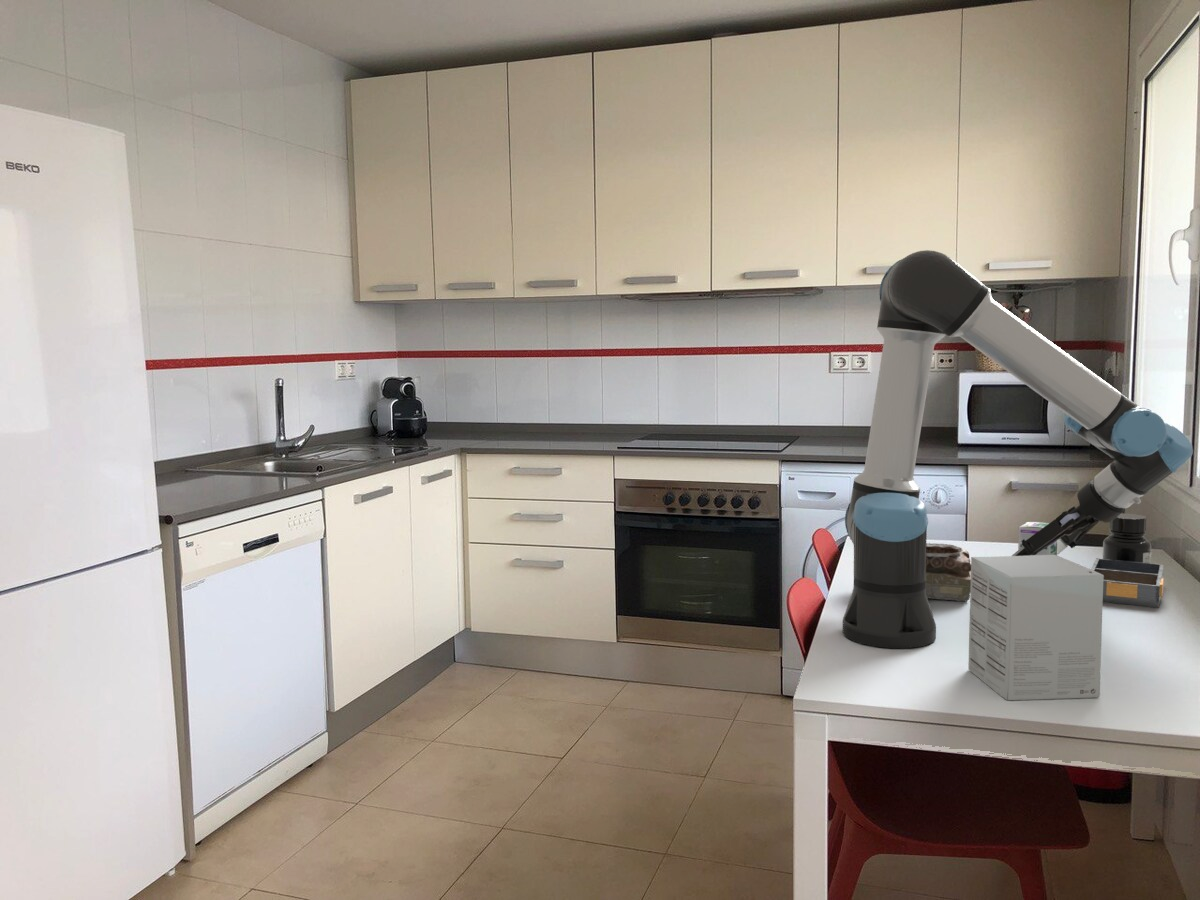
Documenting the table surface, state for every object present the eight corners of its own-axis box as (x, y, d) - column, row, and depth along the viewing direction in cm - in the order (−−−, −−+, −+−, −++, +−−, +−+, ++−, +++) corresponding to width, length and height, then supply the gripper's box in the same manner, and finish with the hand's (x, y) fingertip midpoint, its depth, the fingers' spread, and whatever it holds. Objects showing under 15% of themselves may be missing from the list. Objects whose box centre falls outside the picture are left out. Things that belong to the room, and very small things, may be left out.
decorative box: (971, 611, 174) (972, 559, 173) (860, 601, 182) (860, 551, 181) (976, 594, 186) (977, 545, 184) (871, 585, 194) (872, 538, 193)
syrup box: (1049, 604, 177) (1052, 528, 175) (1016, 600, 180) (1018, 525, 179) (1056, 598, 181) (1058, 523, 180) (1023, 593, 185) (1025, 520, 183)
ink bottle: (1158, 577, 195) (1160, 520, 194) (1112, 577, 197) (1114, 520, 195) (1139, 567, 205) (1141, 512, 204) (1095, 566, 206) (1097, 512, 205)
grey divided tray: (1161, 608, 173) (1162, 587, 173) (1085, 600, 180) (1085, 579, 179) (1165, 584, 190) (1166, 564, 190) (1095, 577, 197) (1096, 558, 196)
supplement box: (1052, 667, 143) (1056, 553, 142) (1101, 698, 130) (1106, 574, 128) (966, 669, 143) (968, 555, 141) (1006, 701, 130) (1009, 576, 128)
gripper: (1093, 518, 160) (1003, 591, 174) (1153, 503, 174) (1066, 571, 188) (1062, 484, 163) (977, 558, 177) (1124, 471, 177) (1040, 541, 191)
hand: (1022, 565), depth 182 cm, fingers open, 11 cm apart
